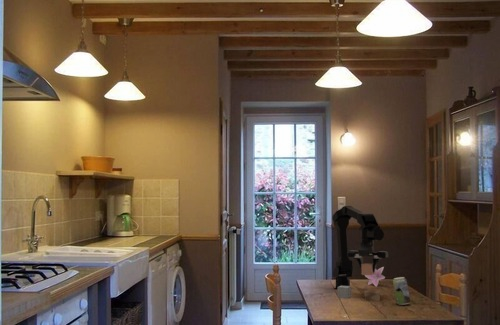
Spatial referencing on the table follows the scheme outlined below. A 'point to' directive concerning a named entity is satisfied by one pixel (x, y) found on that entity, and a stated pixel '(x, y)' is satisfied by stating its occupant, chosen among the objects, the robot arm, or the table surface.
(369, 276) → the lily
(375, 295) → the walnut block
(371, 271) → the terracotta block
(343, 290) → the slate-grey block
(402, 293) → the beverage can
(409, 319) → the table surface
